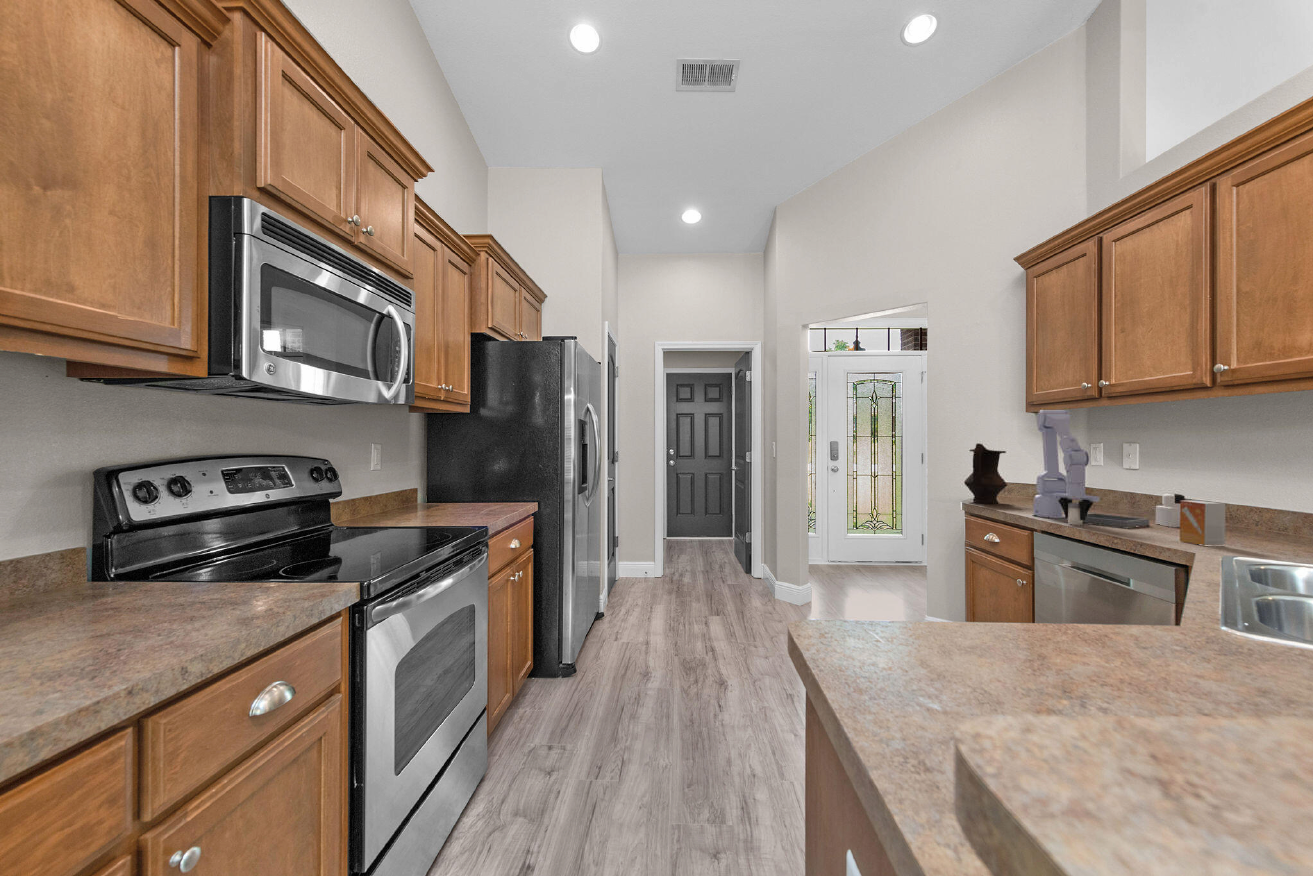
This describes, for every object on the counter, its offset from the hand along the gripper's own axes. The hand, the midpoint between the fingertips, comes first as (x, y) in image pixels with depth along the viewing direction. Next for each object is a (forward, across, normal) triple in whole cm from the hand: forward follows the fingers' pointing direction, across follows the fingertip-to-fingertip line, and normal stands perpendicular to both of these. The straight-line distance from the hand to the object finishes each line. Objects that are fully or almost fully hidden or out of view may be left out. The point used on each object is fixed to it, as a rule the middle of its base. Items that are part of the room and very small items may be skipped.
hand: (1075, 519), depth 205 cm
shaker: (+2, 0, 0) cm, 2 cm away
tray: (+2, +4, +15) cm, 16 cm away
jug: (+2, -59, +37) cm, 69 cm away
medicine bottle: (+2, +17, +31) cm, 35 cm away
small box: (+2, +38, -7) cm, 39 cm away
